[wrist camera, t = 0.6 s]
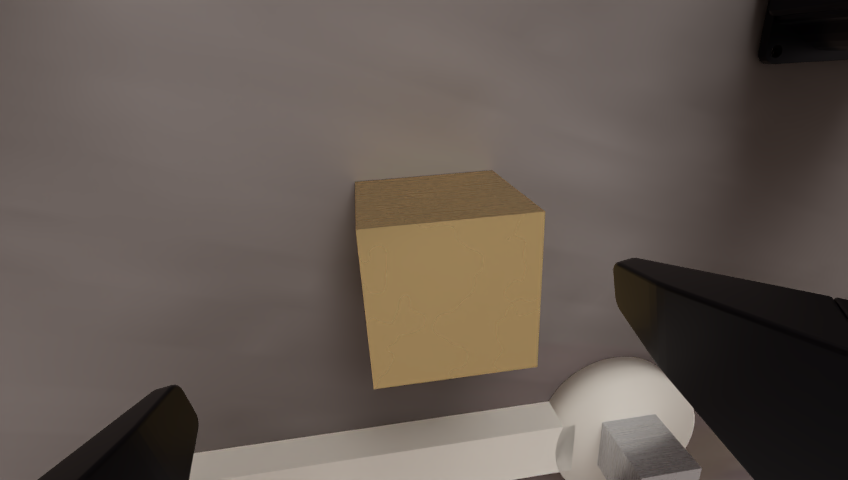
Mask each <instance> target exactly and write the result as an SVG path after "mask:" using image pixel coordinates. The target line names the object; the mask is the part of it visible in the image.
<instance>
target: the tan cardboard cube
mask: <svg viewBox="0 0 848 480" xmlns="http://www.w3.org/2000/svg"><path fill="white" fill-rule="evenodd" d="M355 216H356V237H357V246H358V255H359V264H360V272H361V281H362V290H363V299H364V308H365V316H366V325H367V334H368V343H369V352H370V360H371V369H372V378H373V387H374V389H379V388H387V387H394V386H401V385H408V384H416V383H423V382H430V381H437V380H445V379H452V378H459V377H467V376H474V375H481V374H488V373H496V372H503V371H510V370H518V369H525V368H532V367H537V361H538V342H539V322H540V302H541V283H542V263H543V244H544V224H545V211H544V210H542V209H541V208H540V207H539V206H537V205H536V204H535V203H533V202H532V201H531V200H530V199H528V198H527V197H526V196H524V195H523V194H522V193H521V192H519V191H518V190H517V189H515V188H514V187H513V186H512V185H510V184H509V183H508V182H506V181H505V180H504V179H502V178H501V177H500V176H499V175H497V174H496V173H495V172H493V171H492V170H491V171H479V172H467V173H455V174H443V175H432V176H420V177H408V178H396V179H384V180H372V181H361V182H355Z"/></svg>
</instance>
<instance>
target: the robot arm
mask: <svg viewBox="0 0 848 480" xmlns="http://www.w3.org/2000/svg"><path fill="white" fill-rule="evenodd" d="M773 48H774V53H773V55H771V51H772V49H773ZM758 58H759V60H760V62H762V63H764V64H782V63H798V62H814V61H831V60H847V59H848V0H769V3H768V8H767V13H766V18H765V22H764V27H763V32H762V37H761V42H760V47H759V52H758ZM613 273H614V286H615V298H616V302H617V305H618V307H619V309H620V311H621V312H622V314H623V315H624V317H625V318H626V320H627V321H628V323H629V324H630V326H631V327H632V329H633V330H634V331H635V333H636V334H637V336H638V337H639V339H640V340H641V342H642V343H643V345H644V346H645V348H646V349H647V351H648V352H649V354H650V355H651V357H652V358H653V360H654V361H655V362H656V364H657V365H658V367H659V368H660V369H661V370H662V372H663V373H664V374H665V375H666V377H667V378H668V379H669V380H670V381H671V382H672V384H673V385H674V386H675V387H676V388H677V390H678V391H679V392H680V393H681V394H682V395H683V397H684V398H685V399H686V400H687V401H688V402H689V404H690V405H691V406H692V407H693V408H694V410H695V411H696V412H697V413H698V414H699V415H700V417H701V418H702V419H703V420H704V421H705V422H706V424H707V425H708V426H709V427H710V428H711V430H712V431H713V432H714V433H715V434H716V435H717V437H718V438H719V439H720V440H721V441H722V442H723V444H724V445H725V446H726V447H727V448H728V450H729V451H730V452H731V453H732V454H733V455H734V457H735V458H736V459H737V460H738V461H739V462H740V464H741V465H742V466H743V467H744V468H745V470H746V471H747V472H748V473H749V474H750V475H751V477H752V478H753V479H754V480H848V300H846V299H841V298H835V299H833V298H832V297H830V296H826V295H821V294H816V293H810V292H805V291H800V290H795V289H790V288H785V287H780V286H775V285H770V284H765V283H760V282H755V281H750V280H745V279H740V278H735V277H730V276H725V275H720V274H715V273H710V272H705V271H700V270H695V269H690V268H684V267H679V266H674V265H669V264H664V263H659V262H654V261H649V260H644V259H639V258H631V259H627V260H623V261H620V262H617V263H616V264H615V265H614V269H613ZM197 433H198V417H197V415H196V412H195V411H194V409H193V407H192V405H191V404H190V402H189V400H188V399H187V397H186V395H185V393H184V392H183V390H182V389H181V388H180V387H179V386H177V385H170V386H167V387H163V388H160V389H156V390H154V391H153V392H151V393H150V394H149V395H147V396H146V397H145V398H143V399H142V400H141V401H140V402H138V403H137V404H136V405H134V406H133V407H132V408H130V409H129V410H128V411H126V412H125V413H124V414H123V415H121V416H120V417H119V418H117V419H116V420H115V421H113V422H112V423H111V424H110V425H108V426H107V427H106V428H104V429H103V430H102V431H100V432H99V433H98V434H96V435H95V436H94V437H93V438H91V439H90V440H89V441H87V442H86V443H85V444H83V445H82V446H81V447H80V448H78V449H77V450H76V451H74V452H73V453H72V454H70V455H69V456H68V457H66V458H65V459H64V460H63V461H61V462H60V463H59V464H57V465H56V466H55V467H53V468H52V469H51V470H50V471H48V472H47V473H46V474H44V475H43V476H42V477H40V478H39V479H38V480H189V478H190V472H191V467H192V461H193V455H194V450H195V444H196V438H197Z"/></svg>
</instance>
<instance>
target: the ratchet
mask: <svg viewBox="0 0 848 480" xmlns="http://www.w3.org/2000/svg"><path fill="white" fill-rule="evenodd" d="M694 423H695V414H694V409H693V407H692V406H691V405H690V404H689V402H688V401H687V400H686V399H685V398H684V397H683V395H682V394H681V393H680V392H679V391H678V390H677V388H676V387H675V386H674V385H673V384H672V382H671V381H670V380H669V379H668V378H667V377H666V375H665V374H664V373H663V372H662V370H661V369H660V368H659V367H658V366H656V365H655V364H653V363H651V362H649V361H647V360H644V359H641V358H636V357H613V358H608V359H604V360H601V361H598V362H595V363H593V364H590V365H588V366H586V367H584V368H582V369H581V370H579V371H577V372H576V373H574V374H573V375H572V376H570V377H569V378H568V379H567V380H566V381H564V382H563V383H562V385H561V386H560V387H559V388H558V389H557V390H556V391H555V393H554V394H553V395H552V397H551V399H550V400H549V401H548V402H541V403H534V404H527V405H520V406H513V407H507V408H500V409H493V410H486V411H479V412H472V413H466V414H459V415H452V416H445V417H438V418H431V419H425V420H418V421H411V422H404V423H397V424H390V425H384V426H377V427H370V428H363V429H356V430H349V431H343V432H336V433H329V434H322V435H315V436H308V437H302V438H295V439H288V440H281V441H274V442H267V443H261V444H254V445H247V446H240V447H233V448H226V449H220V450H213V451H206V452H199V453H194V455H193V461H192V467H191V472H190V478H189V480H515V479H521V478H527V477H533V476H539V475H545V474H551V473H557V472H560V473H561V475H562V477H563V478H564V479H565V480H699V478H700V473H701V469H702V468H701V467H700V466H699V464H698V463H697V462H696V461H695V460H694V459H693V457H692V456H691V455H690V454H689V453H688V452H687V450H686V449H685V448H686V446H687V445H688V443H689V441H690V438H691V436H692V433H693V429H694Z"/></svg>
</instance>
